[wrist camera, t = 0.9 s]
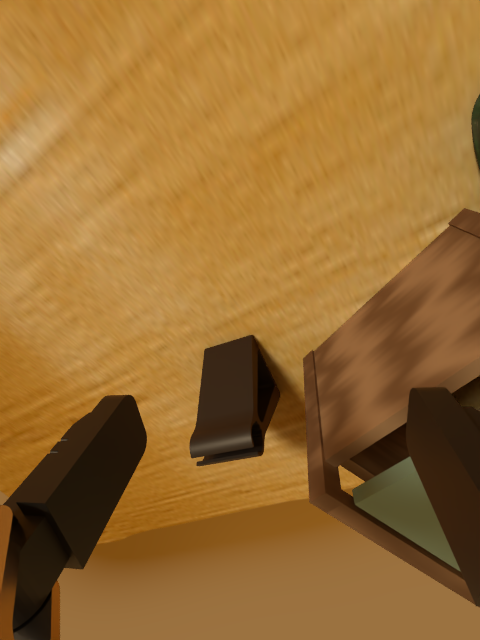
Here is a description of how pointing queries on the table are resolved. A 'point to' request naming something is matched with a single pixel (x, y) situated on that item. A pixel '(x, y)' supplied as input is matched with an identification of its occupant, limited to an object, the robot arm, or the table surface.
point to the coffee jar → (476, 129)
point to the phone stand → (233, 403)
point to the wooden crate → (393, 380)
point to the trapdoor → (405, 508)
